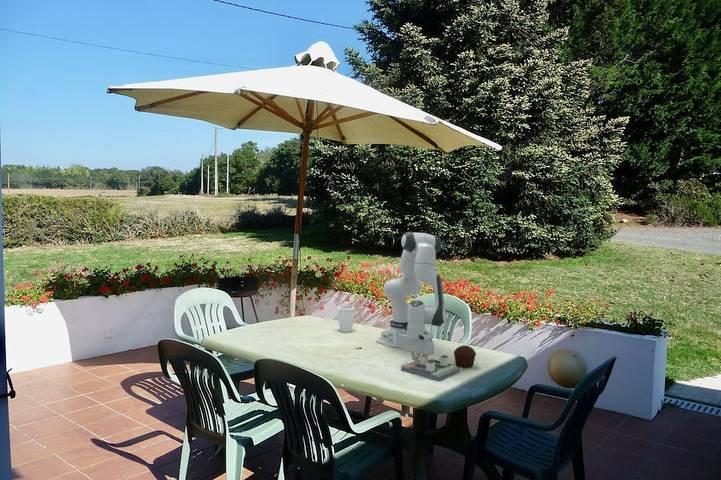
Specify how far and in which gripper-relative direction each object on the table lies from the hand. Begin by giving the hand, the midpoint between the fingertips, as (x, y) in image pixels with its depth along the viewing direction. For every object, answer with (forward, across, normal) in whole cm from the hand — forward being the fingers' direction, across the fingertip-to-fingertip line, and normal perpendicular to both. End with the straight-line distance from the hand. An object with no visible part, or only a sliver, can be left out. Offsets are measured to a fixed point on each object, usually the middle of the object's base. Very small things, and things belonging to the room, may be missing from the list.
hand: (415, 360), depth 266 cm
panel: (+3, +9, 0) cm, 10 cm away
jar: (+3, -75, +27) cm, 80 cm away
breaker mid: (+1, +5, 0) cm, 5 cm away
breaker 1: (+1, +13, -6) cm, 15 cm away
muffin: (+4, +17, +20) cm, 26 cm away
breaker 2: (+1, +13, +6) cm, 15 cm away
